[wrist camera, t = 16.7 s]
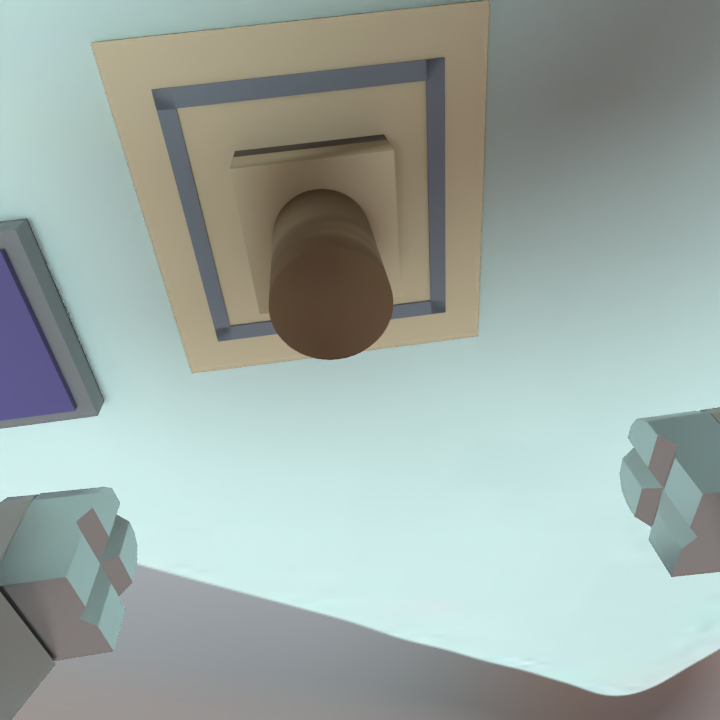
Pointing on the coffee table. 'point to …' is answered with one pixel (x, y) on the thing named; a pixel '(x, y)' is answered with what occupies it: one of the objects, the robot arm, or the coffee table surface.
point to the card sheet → (296, 126)
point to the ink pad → (37, 341)
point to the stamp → (322, 240)
